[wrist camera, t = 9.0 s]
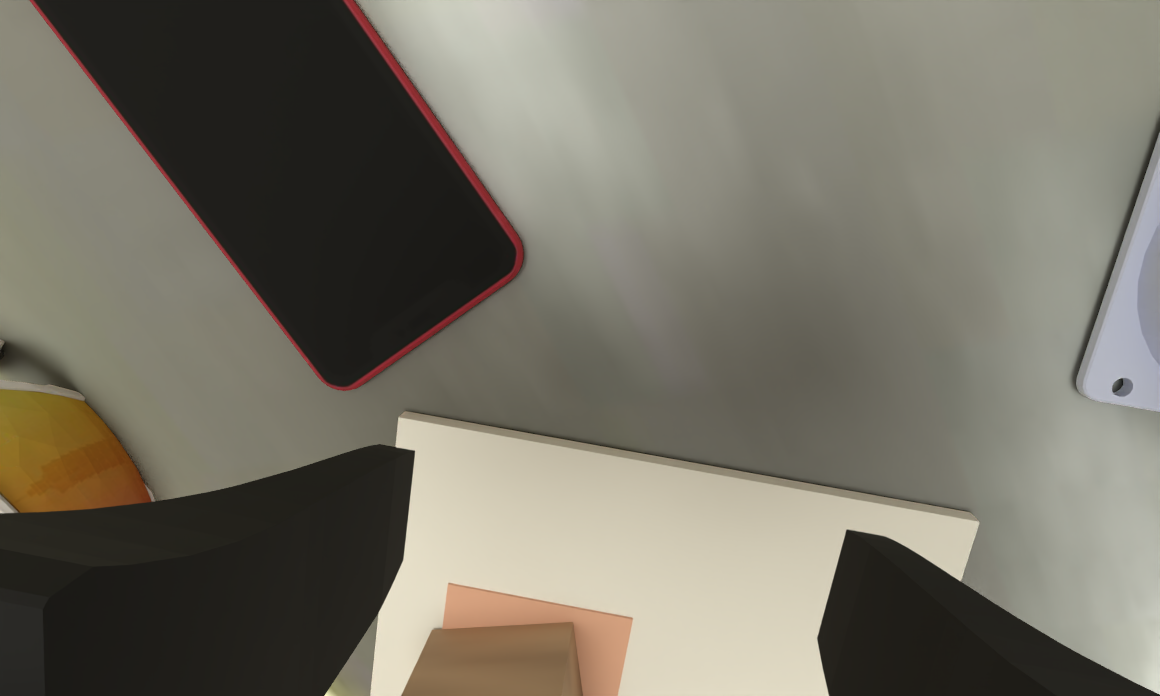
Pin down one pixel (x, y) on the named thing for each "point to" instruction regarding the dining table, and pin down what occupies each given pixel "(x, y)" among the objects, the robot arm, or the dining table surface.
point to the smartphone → (302, 166)
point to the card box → (498, 662)
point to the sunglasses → (60, 453)
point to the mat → (631, 560)
